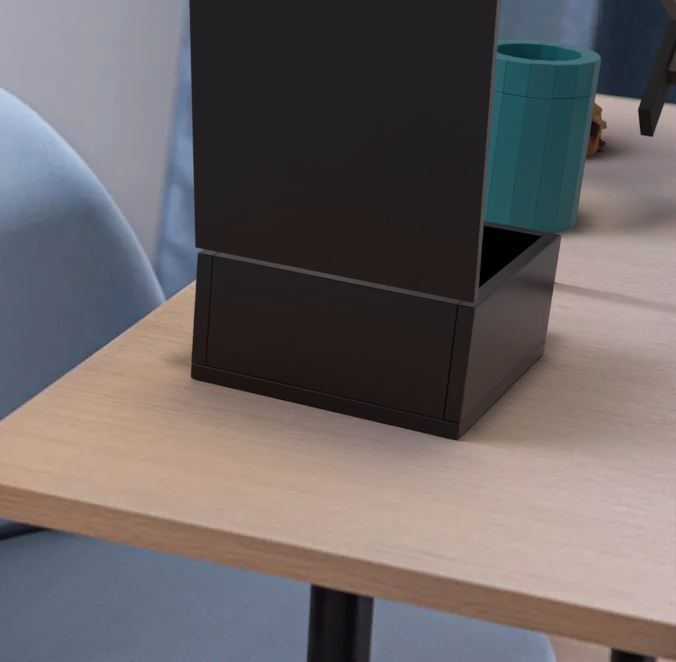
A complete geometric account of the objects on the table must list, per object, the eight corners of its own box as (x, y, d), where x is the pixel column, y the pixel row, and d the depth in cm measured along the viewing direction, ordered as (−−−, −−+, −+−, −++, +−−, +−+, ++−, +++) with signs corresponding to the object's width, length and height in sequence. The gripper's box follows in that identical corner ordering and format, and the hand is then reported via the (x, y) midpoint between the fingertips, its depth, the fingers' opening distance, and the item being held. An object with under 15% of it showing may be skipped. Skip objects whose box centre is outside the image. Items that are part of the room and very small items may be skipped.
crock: (586, 225, 113) (614, 50, 108) (553, 253, 107) (581, 69, 102) (475, 205, 116) (497, 34, 111) (437, 232, 110) (459, 52, 105)
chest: (301, 303, 96) (311, 189, 94) (544, 353, 91) (562, 234, 88) (189, 378, 85) (197, 252, 83) (457, 440, 80) (474, 308, 77)
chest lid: (193, -62, 75) (187, -57, 74) (503, -25, 69) (498, -20, 69) (200, 242, 83) (194, 247, 82) (478, 297, 77) (473, 303, 77)
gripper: (834, -109, 113) (741, 172, 107) (462, -143, 123) (360, 112, 117) (839, -195, 106) (740, 100, 101) (445, -224, 116) (336, 43, 111)
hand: (535, 107), depth 109 cm, fingers open, 13 cm apart
